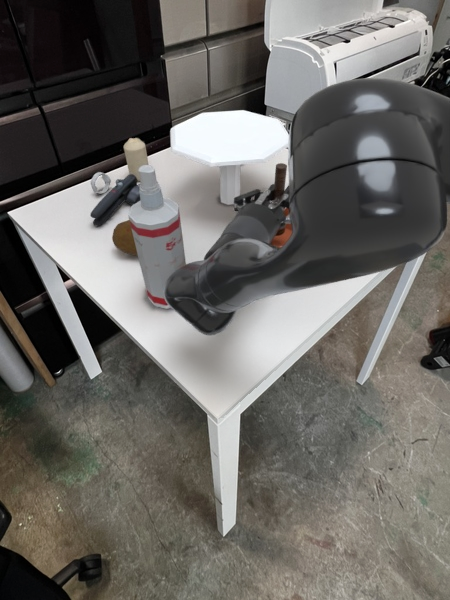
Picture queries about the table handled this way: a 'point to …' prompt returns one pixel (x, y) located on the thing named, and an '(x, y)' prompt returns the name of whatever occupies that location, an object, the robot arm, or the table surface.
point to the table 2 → (229, 143)
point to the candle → (135, 155)
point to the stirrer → (279, 187)
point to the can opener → (116, 199)
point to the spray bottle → (156, 235)
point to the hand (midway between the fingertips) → (283, 188)
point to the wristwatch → (106, 180)
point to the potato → (124, 238)
